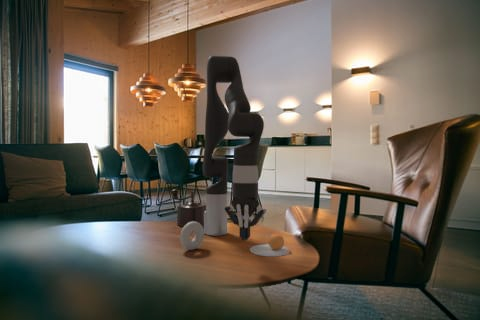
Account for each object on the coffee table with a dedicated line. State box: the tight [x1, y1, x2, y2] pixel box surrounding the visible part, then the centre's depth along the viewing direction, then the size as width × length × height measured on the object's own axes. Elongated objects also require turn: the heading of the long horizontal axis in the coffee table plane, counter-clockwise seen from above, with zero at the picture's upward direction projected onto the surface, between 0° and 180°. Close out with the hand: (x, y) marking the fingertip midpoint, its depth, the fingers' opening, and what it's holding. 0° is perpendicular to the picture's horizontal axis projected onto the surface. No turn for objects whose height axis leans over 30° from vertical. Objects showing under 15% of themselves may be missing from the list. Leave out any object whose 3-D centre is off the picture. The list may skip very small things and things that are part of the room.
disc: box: [249, 243, 291, 257], centre depth 108 cm, size 14×14×1 cm
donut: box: [179, 221, 205, 251], centre depth 108 cm, size 10×4×10 cm, turn 139°
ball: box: [268, 233, 285, 250], centre depth 109 cm, size 6×6×6 cm
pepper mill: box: [169, 188, 206, 228], centre depth 148 cm, size 16×11×18 cm
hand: (244, 239), depth 91 cm, fingers closed
